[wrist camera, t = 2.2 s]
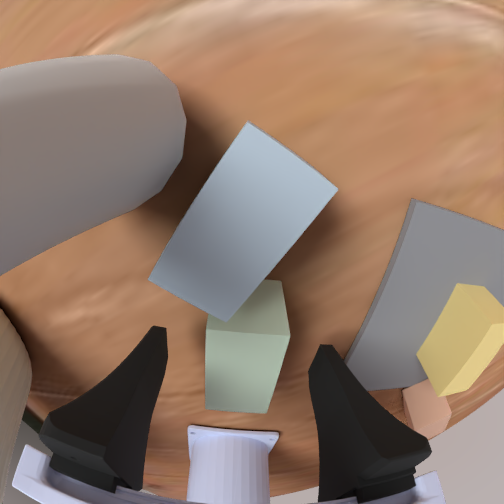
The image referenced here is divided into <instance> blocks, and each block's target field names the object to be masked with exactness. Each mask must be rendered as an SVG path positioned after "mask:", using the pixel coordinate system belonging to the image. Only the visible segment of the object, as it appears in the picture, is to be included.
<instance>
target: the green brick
mask: <svg viewBox="0 0 504 504" xmlns="http://www.w3.org/2000/svg"><path fill="white" fill-rule="evenodd" d="M289 339H290V330H289V324H288V318H287V312H286V306H285V300H284V294H283V288H282V283H281V281H277V280H265V279H264V280H263V281H262V282H261V283H260V284H259V286H258V287H257V288H256V289H255V290H254V291H253V293H252V294H251V295H250V296H249V297H248V298H247V299H246V301H245V302H244V303H243V304H242V305H241V306H240V308H239V309H238V310H237V311H236V312H235V313H234V314H233V316H232V317H231V318H230V319H229V320H228V321H227V322H224V321H222V320H220V319H218V318H216V317H214V316H213V315H211V314H208V320H207V326H206V352H205V409H209V410H219V411H231V412H246V413H267V410H268V407H269V404H270V401H271V398H272V395H273V392H274V389H275V386H276V382H277V379H278V376H279V373H280V369H281V366H282V363H283V360H284V356H285V353H286V350H287V346H288V343H289Z"/></svg>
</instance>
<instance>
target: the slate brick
mask: <svg viewBox="0 0 504 504" xmlns="http://www.w3.org/2000/svg"><path fill="white" fill-rule="evenodd" d="M337 190H338V188H337V187H336V186H334V185H333V184H332V183H331V182H330V181H329V180H328V179H327V178H325V177H324V176H323V175H322V174H321V173H320V172H319V171H317V170H316V169H315V168H314V167H313V166H311V165H310V164H309V163H308V162H306V161H305V160H304V159H302V158H301V157H300V156H298V155H297V154H296V153H294V152H293V151H292V150H290V149H289V148H287V147H286V146H285V145H283V144H282V143H280V142H279V141H278V140H276V139H275V138H273V137H272V136H271V135H269V134H268V133H266V132H265V131H263V130H262V129H260V128H259V127H257V126H256V125H254V124H253V123H251V122H250V121H247V123H246V124H245V125H244V127H243V128H242V130H241V131H240V132H239V134H238V135H237V136H236V138H235V139H234V141H233V142H232V144H231V145H230V146H229V148H228V149H227V151H226V152H225V154H224V155H223V157H222V158H221V159H220V161H219V162H218V164H217V165H216V167H215V168H214V170H213V171H212V173H211V174H210V176H209V177H208V179H207V180H206V182H205V183H204V185H203V186H202V188H201V190H200V191H199V193H198V194H197V196H196V197H195V199H194V201H193V202H192V204H191V205H190V207H189V209H188V210H187V212H186V213H185V215H184V217H183V218H182V220H181V222H180V223H179V225H178V226H177V228H176V230H175V231H174V233H173V235H172V237H171V238H170V240H169V242H168V244H167V245H166V247H165V249H164V251H163V253H162V254H161V256H160V258H159V260H158V262H157V263H156V265H155V267H154V269H153V271H152V273H151V275H150V276H149V278H148V280H149V281H151V282H153V283H154V284H156V285H158V286H160V287H161V288H163V289H165V290H167V291H168V292H170V293H172V294H174V295H175V296H177V297H179V298H181V299H183V300H185V301H186V302H188V303H190V304H192V305H194V306H196V307H197V308H199V309H201V310H203V311H205V312H207V313H209V314H211V315H213V316H214V317H216V318H218V319H220V320H222V321H224V322H227V321H228V320H229V319H230V318H231V317H232V316H233V314H234V313H235V312H236V311H237V310H238V309H239V308H240V306H241V305H242V304H243V303H244V302H245V301H246V299H247V298H248V297H249V296H250V295H251V294H252V293H253V291H254V290H255V289H256V288H257V287H258V286H259V284H260V283H261V282H262V281H263V280H264V279H265V277H266V276H267V275H268V274H269V273H270V271H271V270H272V269H273V268H274V267H275V266H276V264H277V263H278V262H279V261H280V260H281V258H282V257H283V256H284V255H285V254H286V253H287V251H288V250H289V249H290V248H291V247H292V245H293V244H294V243H295V242H296V241H297V239H298V238H299V237H300V236H301V235H302V233H303V232H304V231H305V230H306V229H307V227H308V226H309V225H310V224H311V222H312V221H313V220H314V219H315V218H316V216H317V215H318V214H319V213H320V211H321V210H322V209H323V208H324V207H325V205H326V204H327V203H328V202H329V200H330V199H331V198H332V197H333V195H334V194H335V193H336V192H337Z"/></svg>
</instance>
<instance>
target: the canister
mask: <svg viewBox="0 0 504 504" xmlns="http://www.w3.org/2000/svg"><path fill="white" fill-rule="evenodd" d="M31 382H32V368H31V361H30V358H29V354H28V352H27V350H26V348H25V345H24V343H23V342H22V341H21V337H20V336H19V334H18V333H17V332H16V329H15V327H14V326H13V325H12V324H11V322H10V320H9V318H8V317H7V316H6V315H5V314H4V312H3V310H2V309H1V308H0V504H3V498H4V493H5V487H6V481H7V475H8V470H9V465H10V461H11V456H12V452H13V449H14V445H15V441H16V437H17V433H18V430H19V426H20V422H21V419H22V415H23V412H24V409H25V406H26V402H27V399H28V396H29V392H30V388H31Z"/></svg>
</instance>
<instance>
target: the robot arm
mask: <svg viewBox="0 0 504 504" xmlns="http://www.w3.org/2000/svg"><path fill="white" fill-rule="evenodd" d="M167 360H168V348H167V332H166V328H164V327H158V326H152V327H151V328H150V330H149V331H148V333H147V334H146V335H145V336H144V338H143V339H142V340H141V341H140V343H139V344H138V345H137V346H136V347H135V349H134V350H133V351H132V352H131V353H130V354H129V355H128V357H127V358H126V359H125V360H124V361H123V362H122V363H121V364H120V365H119V366H118V367H117V368H116V369H115V370H114V371H113V372H112V373H110V374H109V375H108V376H107V377H106V378H105V379H104V380H102V381H101V382H100V383H99V384H97V385H96V386H95V387H93V388H92V389H91V390H89V391H88V392H86V393H85V394H83V395H82V396H80V397H78V398H77V399H75V400H73V401H72V402H70V403H68V404H66V405H64V406H62V407H60V408H58V409H56V410H54V411H52V412H50V413H49V414H48V416H47V418H46V419H45V421H44V423H43V426H42V428H41V431H40V433H39V438H40V440H41V441H42V442H43V443H44V444H45V445H46V446H47V447H48V448H49V449H50V450H51V451H52V452H53V456H52V458H51V457H50V456H48V455H47V454H45V453H43V452H41V451H39V450H37V449H35V448H33V447H31V446H30V445H25V448H24V450H23V453H22V456H21V458H20V461H19V464H18V467H17V470H16V473H15V476H14V479H13V482H12V486H13V487H15V488H17V489H18V490H20V491H21V492H23V493H25V494H26V495H28V496H30V497H31V498H33V499H35V500H37V501H38V502H40V503H42V504H270V490H269V468H268V454H269V453H270V451H271V450H272V448H273V446H274V445H275V443H276V441H277V440H278V438H279V433H278V432H263V431H244V430H231V429H220V428H211V427H203V426H195V425H190V426H188V444H189V457H190V460H191V462H190V471H189V481H188V490H187V501H184V500H177V499H172V498H166V497H161V496H156V495H151V494H147V493H143V492H139V491H140V490H141V489H142V485H143V472H144V462H145V454H146V446H147V440H148V433H149V428H150V422H151V418H152V414H153V410H154V407H155V404H156V401H157V397H158V394H159V391H160V388H161V385H162V382H163V378H164V375H165V370H166V365H167ZM308 374H309V389H310V394H311V399H312V404H313V409H314V414H315V419H316V424H317V430H318V439H319V460H320V475H319V495H318V503H310V504H446V501H445V498H444V494H443V491H442V487H441V484H440V481H439V477H438V475H437V471H436V470H434V471H432V472H429V473H426V474H423V475H421V476H418V477H416V478H414V476H413V474H414V473H416V470H415V466H416V465H418V464H419V463H421V462H422V461H424V460H425V459H426V458H428V457H429V456H430V454H431V452H432V451H431V448H430V445H429V442H428V439H427V437H425V436H423V435H421V434H420V433H418V432H416V431H414V430H412V429H411V428H409V427H408V426H406V425H405V424H403V423H402V422H400V421H399V420H398V419H396V418H395V417H394V416H393V415H391V414H390V413H389V412H388V411H387V410H385V409H384V408H383V407H382V406H381V405H380V404H379V403H378V402H377V401H376V400H375V399H374V398H373V397H372V396H371V395H370V394H369V393H368V392H367V390H366V389H365V388H364V387H363V386H362V385H361V383H360V382H359V381H358V380H357V378H356V377H355V376H354V375H353V373H352V372H351V371H350V369H349V368H348V366H347V365H346V364H345V362H344V361H343V359H342V358H341V357H340V355H339V354H338V352H337V351H336V350H335V348H334V347H333V345H322V344H320V347H319V349H318V351H317V353H316V355H315V358H314V360H313V362H312V364H311V366H310V368H309V371H308Z"/></svg>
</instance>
